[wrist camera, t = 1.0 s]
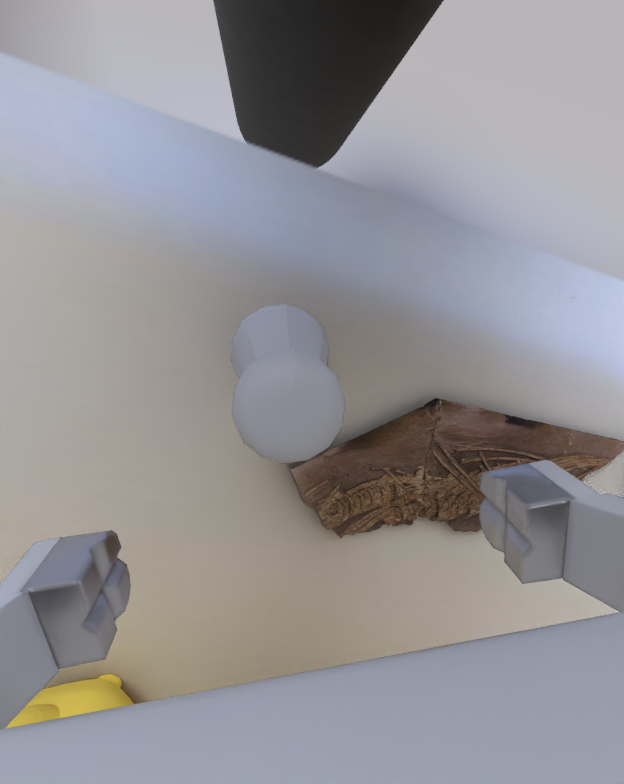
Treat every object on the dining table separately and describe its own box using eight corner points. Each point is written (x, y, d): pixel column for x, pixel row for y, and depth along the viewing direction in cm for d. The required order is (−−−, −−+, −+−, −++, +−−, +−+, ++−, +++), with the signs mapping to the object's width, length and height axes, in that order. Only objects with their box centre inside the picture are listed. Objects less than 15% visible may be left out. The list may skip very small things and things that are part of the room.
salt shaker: (341, 345, 28) (403, 416, 15) (280, 404, 28) (293, 518, 16) (277, 280, 26) (289, 301, 14) (214, 345, 27) (173, 421, 14)
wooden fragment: (287, 536, 31) (288, 545, 30) (287, 398, 28) (288, 403, 27) (600, 519, 34) (611, 526, 33) (634, 391, 31) (646, 396, 30)
